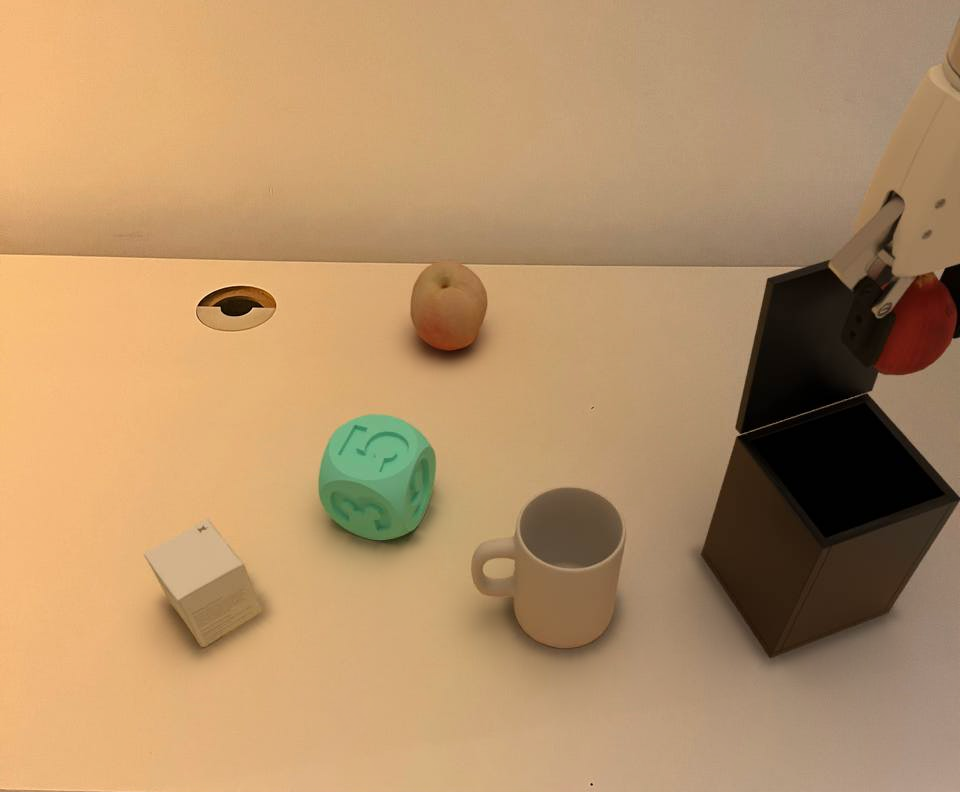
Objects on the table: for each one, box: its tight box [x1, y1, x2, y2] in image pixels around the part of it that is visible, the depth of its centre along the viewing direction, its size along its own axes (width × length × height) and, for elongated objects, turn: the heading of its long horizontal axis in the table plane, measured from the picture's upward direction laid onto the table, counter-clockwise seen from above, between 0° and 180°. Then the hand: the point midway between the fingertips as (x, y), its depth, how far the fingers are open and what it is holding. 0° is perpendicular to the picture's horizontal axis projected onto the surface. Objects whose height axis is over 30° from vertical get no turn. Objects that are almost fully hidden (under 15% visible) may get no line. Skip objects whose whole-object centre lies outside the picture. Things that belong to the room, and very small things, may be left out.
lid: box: [734, 258, 894, 435], centre depth 66 cm, size 12×12×1 cm
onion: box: [873, 271, 957, 376], centre depth 60 cm, size 6×6×8 cm
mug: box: [470, 485, 627, 649], centre depth 76 cm, size 12×8×11 cm
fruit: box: [409, 259, 489, 351], centre depth 95 cm, size 8×8×8 cm
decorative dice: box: [317, 413, 437, 541], centre depth 83 cm, size 8×8×8 cm
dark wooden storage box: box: [700, 392, 960, 659], centre depth 75 cm, size 12×12×15 cm
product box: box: [143, 518, 263, 648], centre depth 78 cm, size 6×6×7 cm
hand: (901, 336), depth 61 cm, fingers closed on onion, 5 cm apart
